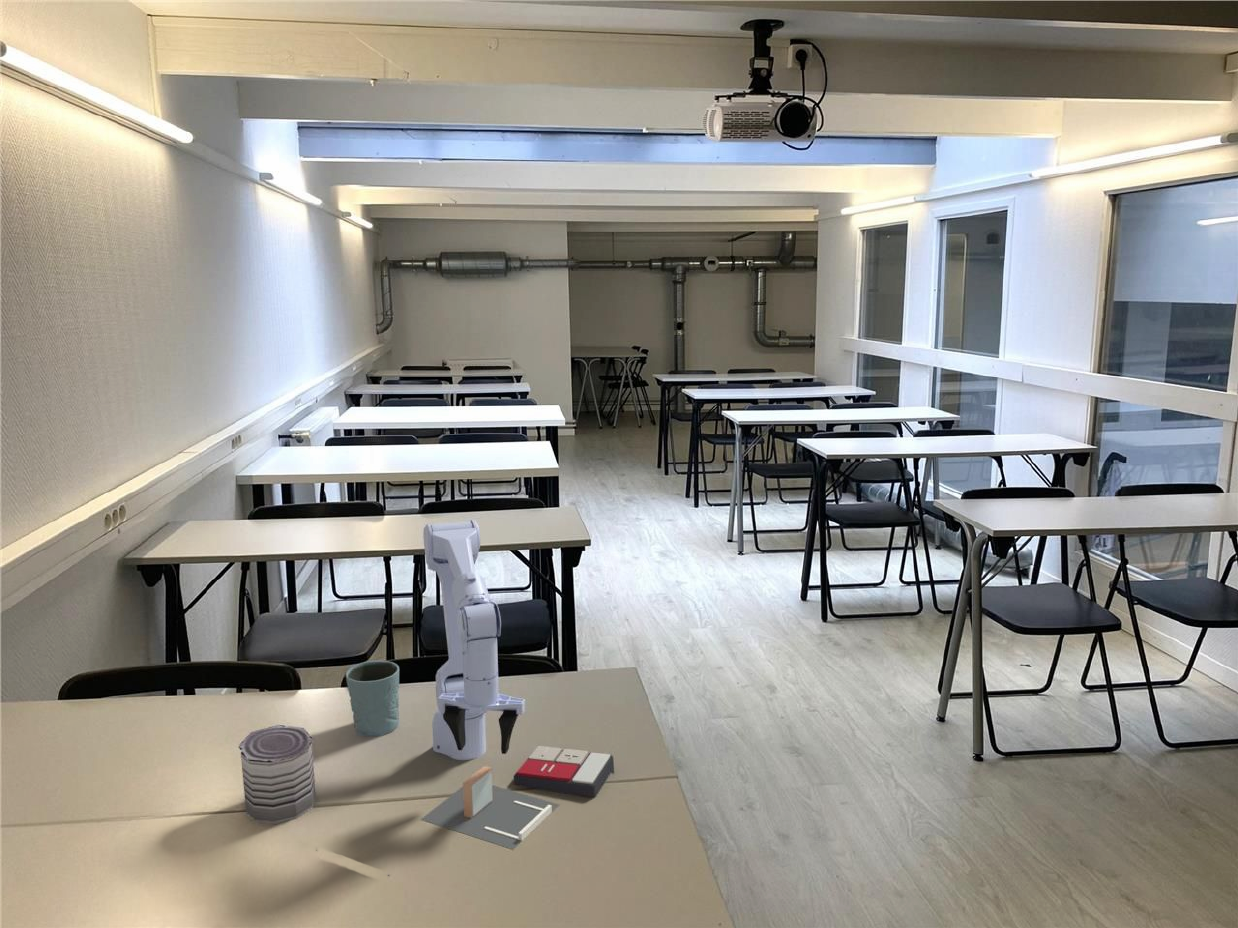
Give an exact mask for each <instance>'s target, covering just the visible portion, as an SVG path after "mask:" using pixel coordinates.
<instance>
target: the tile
mask: <svg viewBox="0 0 1238 928" xmlns="http://www.w3.org/2000/svg"><path fill="white" fill-rule="evenodd" d="M492 771H493V768H492V767H490V766H487V765H484V766H482V767H481V768H479V769H478V770H477V771H475V772H474V773H473V774H472V775H470V776H469V777H468V778H467V779H465V780H464V781H463V782H462V786H463V800H464V816H466V817H469V818H473V817H474V816H475V815H476V814H477V813H479V812H480V811H481V810H482V809H483V808H484V807H486V806H487V805H488V804H489V803H490V802H492V801H493V792H492V785H493V772H492Z"/></svg>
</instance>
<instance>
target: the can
mask: <svg viewBox="0 0 1238 928" xmlns="http://www.w3.org/2000/svg"><path fill="white" fill-rule="evenodd" d="M314 740H315V738H313V737H312V736H311V735H310V733H309V731H307V730H306V729H305V728H304V727H299V726H289V725H282V724H276V725H273V726H269V727H265V728H262V729H258V730H255V731H251V732H250V733H249V734H248V735H247V736H246V737H245V738H244V739H243V740H242V741H241V742H240V743H239V744H238V745H237V747H238V749H239V750H240V751H241V752H240V759H241V769H242V770H241V771H242V782H243V784H242V785H243V794H244V806H245V814H246V815H247V816H248V817H249V818H250V819H251V820H252V821H254V822H255V823H260V824H261V823H262V824H272V825H275V824H279V823H284V822H287V821H291V820H296V819H298V818H300V817H301V816H303V815H304V814H305V812H306V813H307V812H308V810H309V811H310V810H312V809H313V808H314V803H315V801H316V798H317V794H316V782H315V781H316V780H315V770H314V769H315V767H314V755H313V752H314V751H313V742H314ZM315 797H316V798H315ZM312 807H313V808H312ZM311 808H312V809H311ZM302 814H303V815H302Z"/></svg>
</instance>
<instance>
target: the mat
mask: <svg viewBox="0 0 1238 928" xmlns="http://www.w3.org/2000/svg"><path fill="white" fill-rule="evenodd" d="M492 792H493V801H492V802H490V803H489V804H488V805H487V806H486V807H484V808H483V809H482V810H481V811H480V812H479V813H477V814H476V815H475V816H474V817H473V818H469V817H466V816H464V800H463V785H462V787H460V788H458V790H456V791H455V792H454V793H452V794H451V795H449V797H447V798H446V799H444V801H442V802H441V803H439V805H437V806H436V807H434V808H433V809H432V810H431V811H429V812H428V813H427V814H425V815H424V816H423V817H422V818H421V819H420V821H424V822H427V823H430V824H433V825H436V826H439V827H441V828H445V829H448V830H452V831H453V832H454V831H455V832H457V833H461V834H464V835H467V836H469V837H473V838H475V839H479V840H482V841H485V842H488V843H492V844H494V845H498V846H501V847H503V848H507V849H509V850H515V848H517V847H518V845H520V843H522V842H523V841H524V840H525V839H526V838H527V837H529V835H530V834H531V833H532V832H534V830H535V829H537V828H538V826H539V825H540V824H542V823H543V822H544V820H546V819H547V818H548V817H549V816H550V815H552V813H553V812H554V811H555V810H556V809H557V808H558V807H559V806H560V804H558V803H555V802H552V801H549V800H545V799H542V798H538V797H534V796H531V795H528V794H524V793H521V792H518V791H514V790H511V789H507V788H503V787H500V786H496V785H493V784H492Z"/></svg>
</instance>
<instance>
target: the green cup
mask: <svg viewBox="0 0 1238 928" xmlns="http://www.w3.org/2000/svg"><path fill="white" fill-rule="evenodd" d="M345 679H346V684H347V689H348V695H349V697H350V700H349V701H350V707H351V711H352V712H353V715H352V719H353V725H354V726H353V727H354V731H355V732H356V734H358V735H360V736H363V737H368V738H369V737H381V736H384V735H385V736H386V735H388V734H390V733H392V732H394V731H395V730H397V728H398V727H399V723H400V720H399V719H400V712H399V709H400V708H399V705H400V694H399V688H400V666H399V665H398V664H397V663H395V662H393V661H388V660H372V661H371V660H370V661H366V662H361V663H359V664H356V665H354V666H351V667H350V668H349V669H348V670H347V671H346V673H345Z"/></svg>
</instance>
